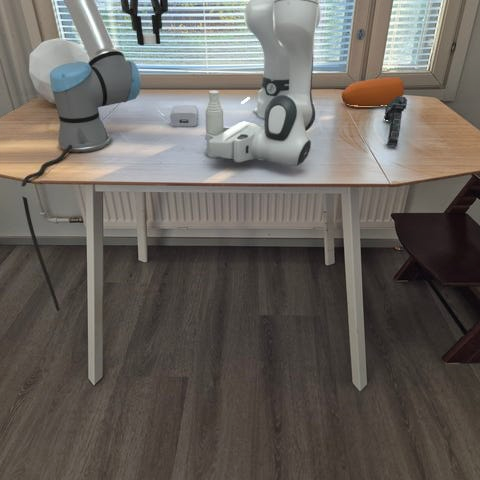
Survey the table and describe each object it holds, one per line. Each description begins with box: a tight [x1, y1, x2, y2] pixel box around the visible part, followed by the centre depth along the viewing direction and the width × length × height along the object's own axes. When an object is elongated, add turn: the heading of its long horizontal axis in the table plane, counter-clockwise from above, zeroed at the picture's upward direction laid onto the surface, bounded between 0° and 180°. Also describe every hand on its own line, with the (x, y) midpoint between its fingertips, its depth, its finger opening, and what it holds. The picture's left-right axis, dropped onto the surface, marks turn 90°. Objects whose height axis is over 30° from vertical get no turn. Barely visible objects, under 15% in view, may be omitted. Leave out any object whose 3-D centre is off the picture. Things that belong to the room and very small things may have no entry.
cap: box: [143, 32, 157, 45], centre depth 106 cm, size 4×4×2 cm
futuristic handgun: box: [383, 95, 408, 147], centre depth 138 cm, size 4×29×15 cm, turn 164°
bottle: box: [204, 89, 224, 159], centre depth 119 cm, size 5×5×19 cm
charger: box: [169, 105, 199, 127], centre depth 148 cm, size 5×9×15 cm
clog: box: [341, 76, 405, 109], centre depth 165 cm, size 12×11×25 cm
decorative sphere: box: [28, 37, 90, 105], centre depth 157 cm, size 24×25×25 cm
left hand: (149, 43), depth 106 cm, fingers closed on cap, 4 cm apart
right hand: (212, 133), depth 120 cm, fingers closed on bottle, 5 cm apart
